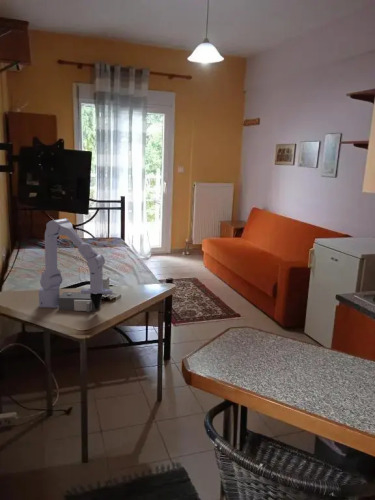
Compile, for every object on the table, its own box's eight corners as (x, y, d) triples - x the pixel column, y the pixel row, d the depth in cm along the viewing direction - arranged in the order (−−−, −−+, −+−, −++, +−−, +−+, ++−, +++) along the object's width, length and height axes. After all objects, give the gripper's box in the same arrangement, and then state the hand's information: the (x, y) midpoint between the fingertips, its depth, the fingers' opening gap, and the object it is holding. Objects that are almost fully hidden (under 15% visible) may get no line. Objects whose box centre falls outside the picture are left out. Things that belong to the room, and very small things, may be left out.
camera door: (72, 312, 191) (72, 302, 189) (75, 309, 195) (74, 299, 194) (89, 313, 191) (89, 303, 189) (91, 309, 195) (91, 300, 194)
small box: (109, 295, 218) (109, 276, 216) (106, 298, 213) (106, 279, 211) (95, 294, 219) (95, 275, 217) (92, 297, 213) (91, 278, 211)
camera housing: (58, 309, 195) (58, 296, 194) (64, 303, 204) (63, 290, 203) (98, 310, 195) (98, 297, 194) (102, 304, 204) (102, 291, 203)
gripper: (78, 282, 185) (79, 311, 187) (110, 283, 185) (110, 311, 187) (82, 278, 191) (83, 305, 194) (113, 279, 191) (113, 306, 194)
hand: (97, 308), depth 191 cm, fingers closed
